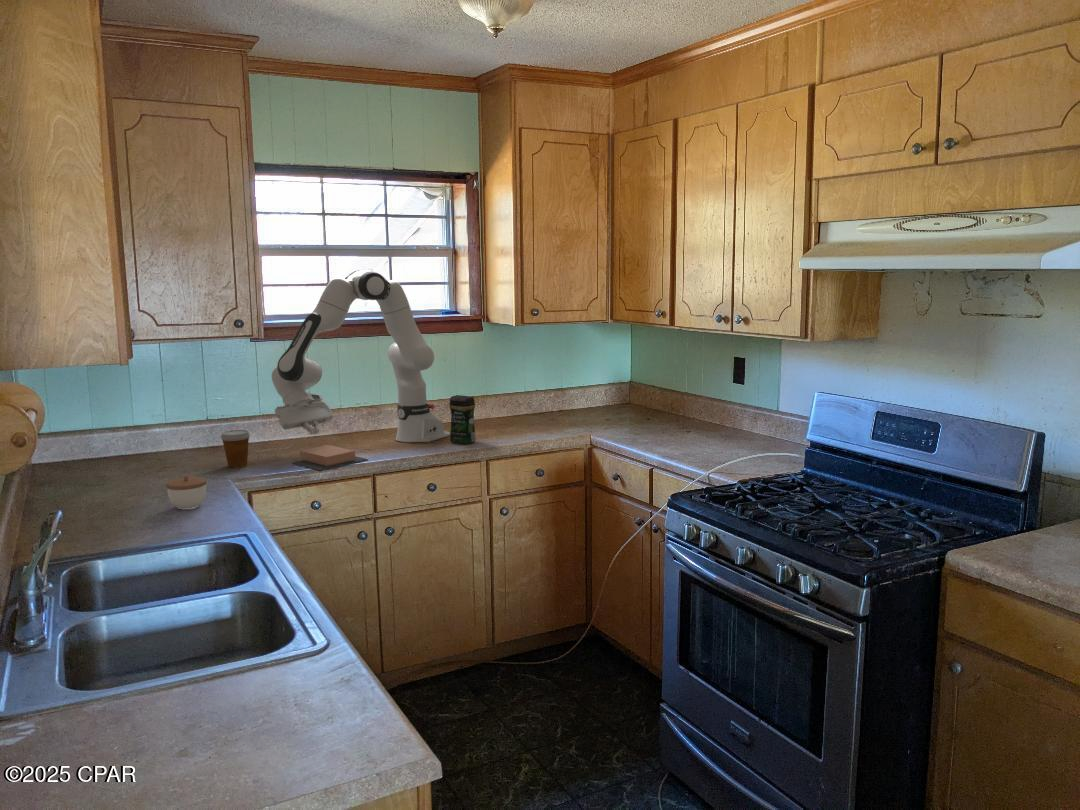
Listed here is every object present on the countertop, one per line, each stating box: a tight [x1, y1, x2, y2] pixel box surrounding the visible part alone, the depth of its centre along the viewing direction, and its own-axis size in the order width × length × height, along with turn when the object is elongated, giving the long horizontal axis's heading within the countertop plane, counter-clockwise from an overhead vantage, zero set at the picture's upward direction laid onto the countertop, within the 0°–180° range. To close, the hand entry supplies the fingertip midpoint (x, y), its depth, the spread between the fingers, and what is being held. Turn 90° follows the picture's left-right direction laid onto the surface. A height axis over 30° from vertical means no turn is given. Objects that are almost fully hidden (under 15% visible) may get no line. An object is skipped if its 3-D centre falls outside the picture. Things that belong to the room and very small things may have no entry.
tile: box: [299, 444, 356, 466], centre depth 296 cm, size 12×3×16 cm
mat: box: [291, 455, 369, 472], centre depth 295 cm, size 20×17×1 cm
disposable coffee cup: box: [220, 429, 251, 468], centre depth 289 cm, size 10×10×12 cm
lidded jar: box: [165, 475, 207, 509], centre depth 241 cm, size 11×11×9 cm
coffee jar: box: [448, 394, 476, 445], centre depth 323 cm, size 10×8×19 cm
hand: (315, 433), depth 299 cm, fingers closed
